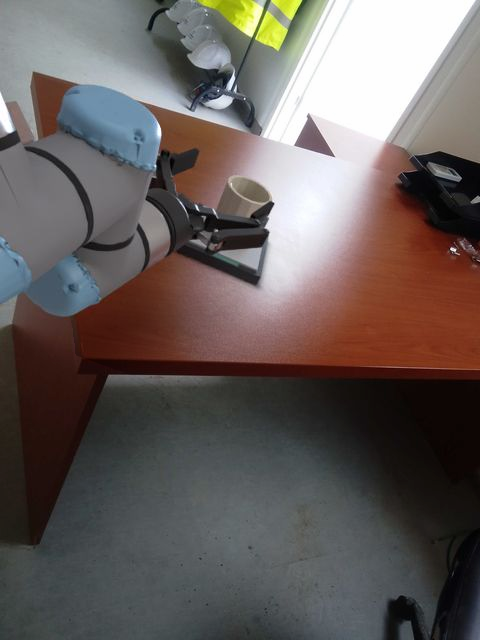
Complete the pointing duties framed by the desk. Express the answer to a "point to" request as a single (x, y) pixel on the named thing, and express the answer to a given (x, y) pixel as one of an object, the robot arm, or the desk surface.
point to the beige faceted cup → (242, 197)
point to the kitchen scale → (229, 259)
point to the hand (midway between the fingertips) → (231, 183)
